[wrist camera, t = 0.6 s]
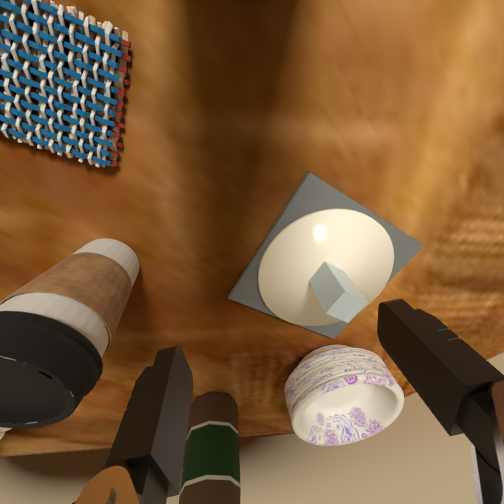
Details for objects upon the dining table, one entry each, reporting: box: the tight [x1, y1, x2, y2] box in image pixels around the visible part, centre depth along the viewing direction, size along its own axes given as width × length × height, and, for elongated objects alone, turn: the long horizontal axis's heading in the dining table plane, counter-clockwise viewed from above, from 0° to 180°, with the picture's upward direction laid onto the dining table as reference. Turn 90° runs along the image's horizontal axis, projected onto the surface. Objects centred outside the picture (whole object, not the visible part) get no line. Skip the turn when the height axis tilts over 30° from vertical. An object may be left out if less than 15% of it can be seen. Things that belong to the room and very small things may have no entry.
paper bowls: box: [284, 345, 404, 446], centre depth 35 cm, size 15×15×8 cm
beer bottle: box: [179, 392, 240, 504], centre depth 30 cm, size 8×8×24 cm
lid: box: [258, 208, 394, 326], centre depth 26 cm, size 16×16×6 cm
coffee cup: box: [0, 238, 140, 428], centre depth 20 cm, size 8×8×15 cm
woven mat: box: [0, 0, 131, 168], centre depth 18 cm, size 10×11×2 cm
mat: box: [228, 172, 424, 339], centre depth 29 cm, size 17×17×1 cm
